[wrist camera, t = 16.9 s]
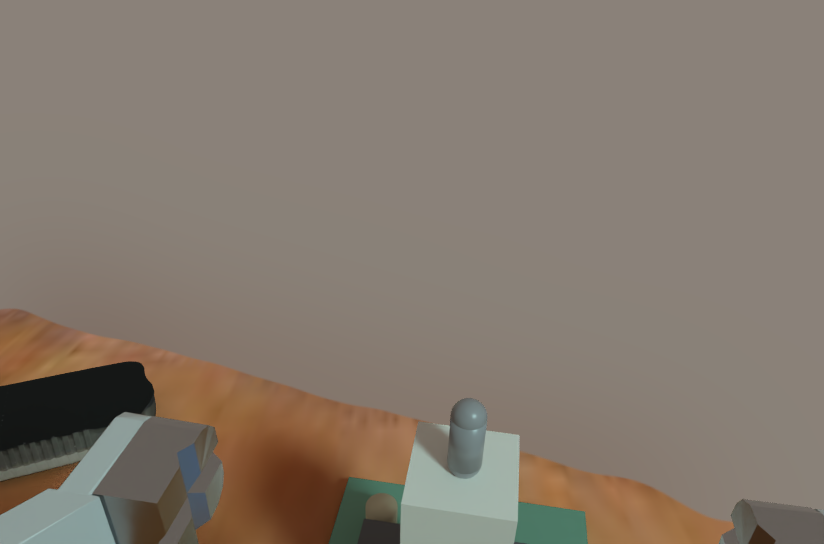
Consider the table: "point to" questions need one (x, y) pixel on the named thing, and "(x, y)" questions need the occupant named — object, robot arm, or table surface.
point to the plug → (461, 482)
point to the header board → (381, 518)
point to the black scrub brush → (66, 415)
